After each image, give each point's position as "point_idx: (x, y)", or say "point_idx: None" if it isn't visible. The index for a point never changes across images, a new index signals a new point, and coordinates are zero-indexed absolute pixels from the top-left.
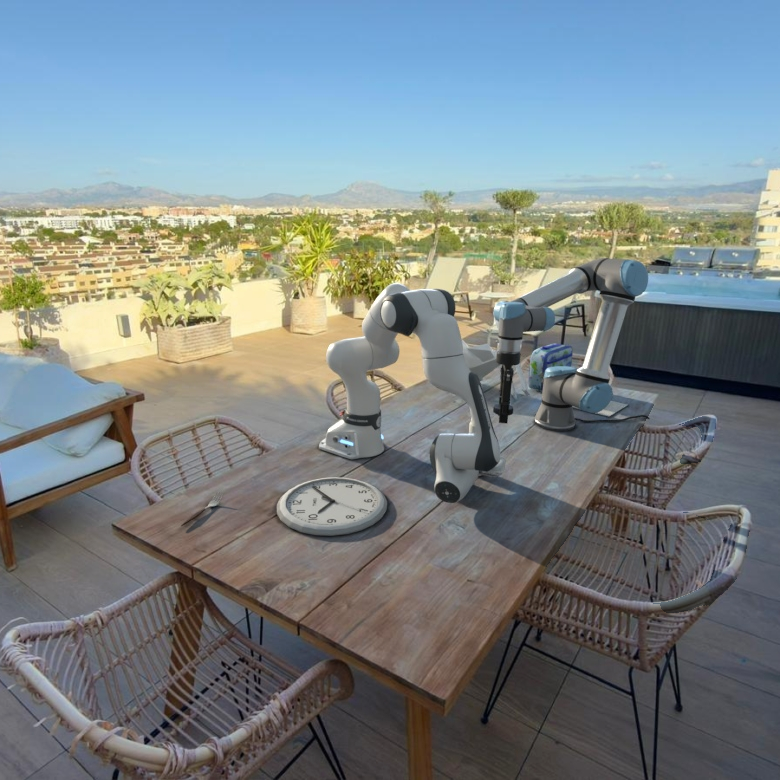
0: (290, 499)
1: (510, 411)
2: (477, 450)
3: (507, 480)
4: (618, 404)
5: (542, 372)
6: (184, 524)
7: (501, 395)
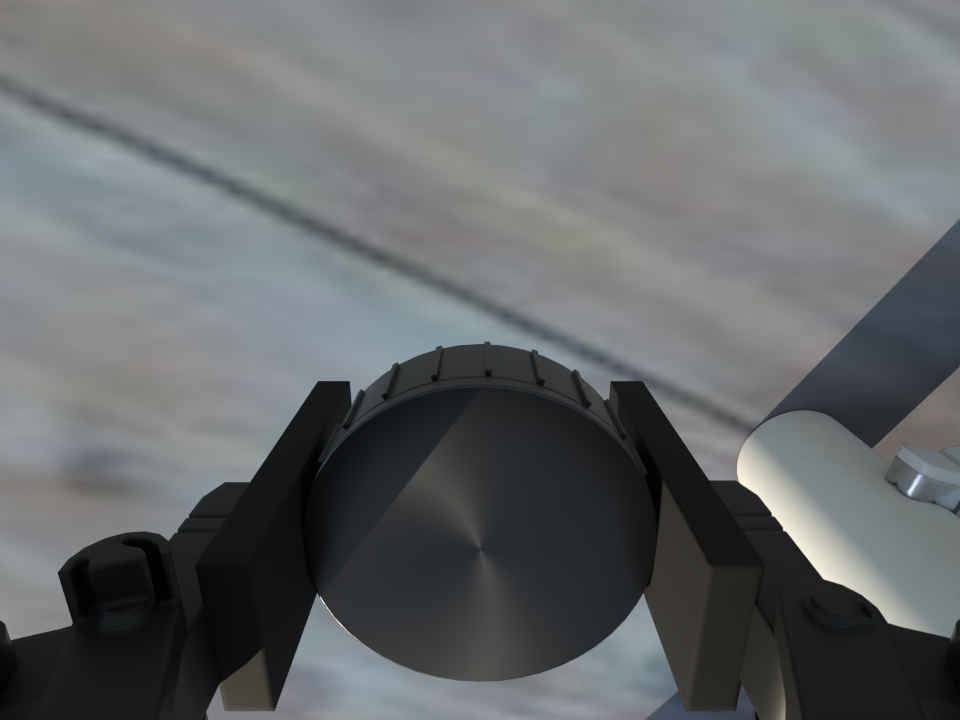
0: None
1: (610, 420)
2: None
3: (920, 265)
4: None
5: None
6: None
7: (205, 711)
